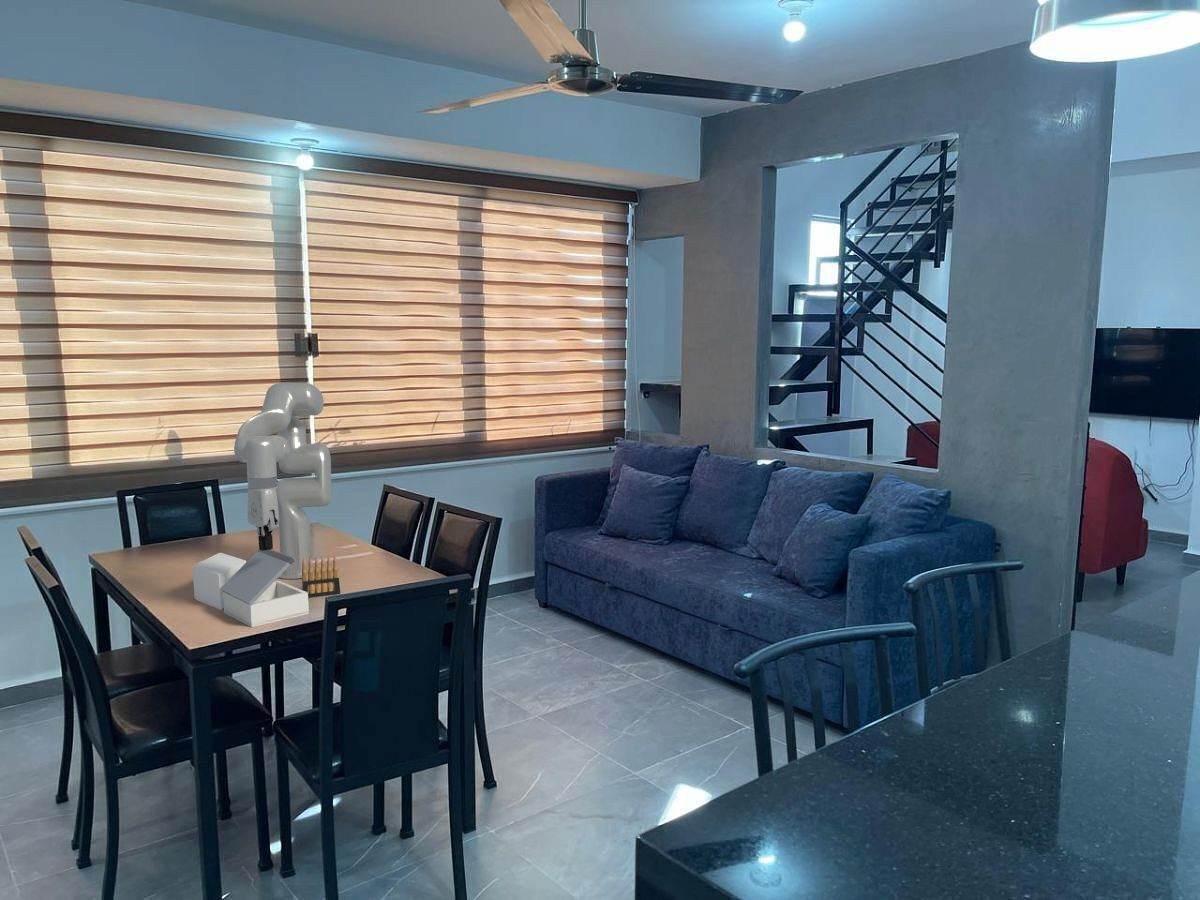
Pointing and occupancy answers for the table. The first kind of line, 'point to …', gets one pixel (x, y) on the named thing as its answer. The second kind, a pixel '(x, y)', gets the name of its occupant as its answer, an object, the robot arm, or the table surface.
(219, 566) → the white rectangular block
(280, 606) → the box
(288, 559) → the lid
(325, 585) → the ammunition clip
